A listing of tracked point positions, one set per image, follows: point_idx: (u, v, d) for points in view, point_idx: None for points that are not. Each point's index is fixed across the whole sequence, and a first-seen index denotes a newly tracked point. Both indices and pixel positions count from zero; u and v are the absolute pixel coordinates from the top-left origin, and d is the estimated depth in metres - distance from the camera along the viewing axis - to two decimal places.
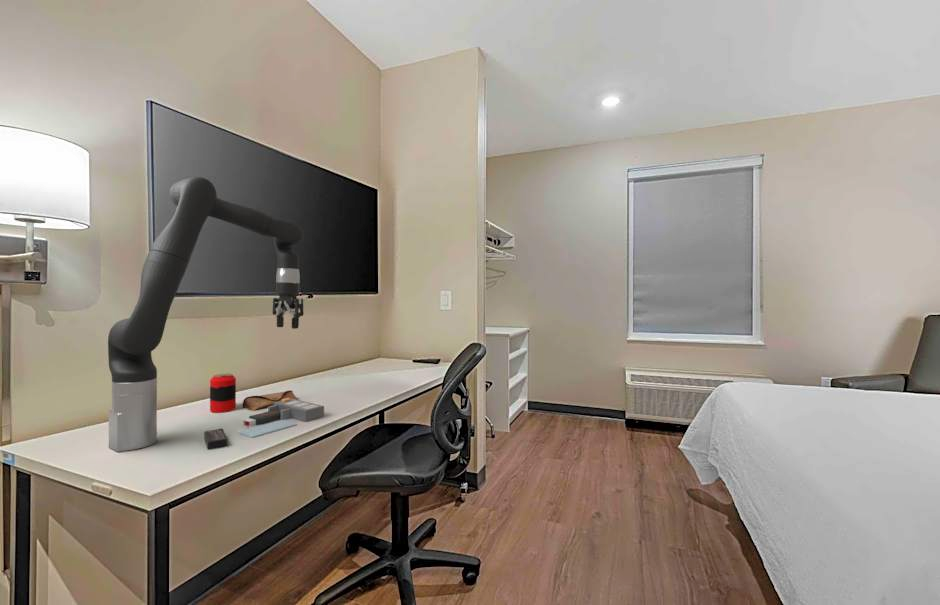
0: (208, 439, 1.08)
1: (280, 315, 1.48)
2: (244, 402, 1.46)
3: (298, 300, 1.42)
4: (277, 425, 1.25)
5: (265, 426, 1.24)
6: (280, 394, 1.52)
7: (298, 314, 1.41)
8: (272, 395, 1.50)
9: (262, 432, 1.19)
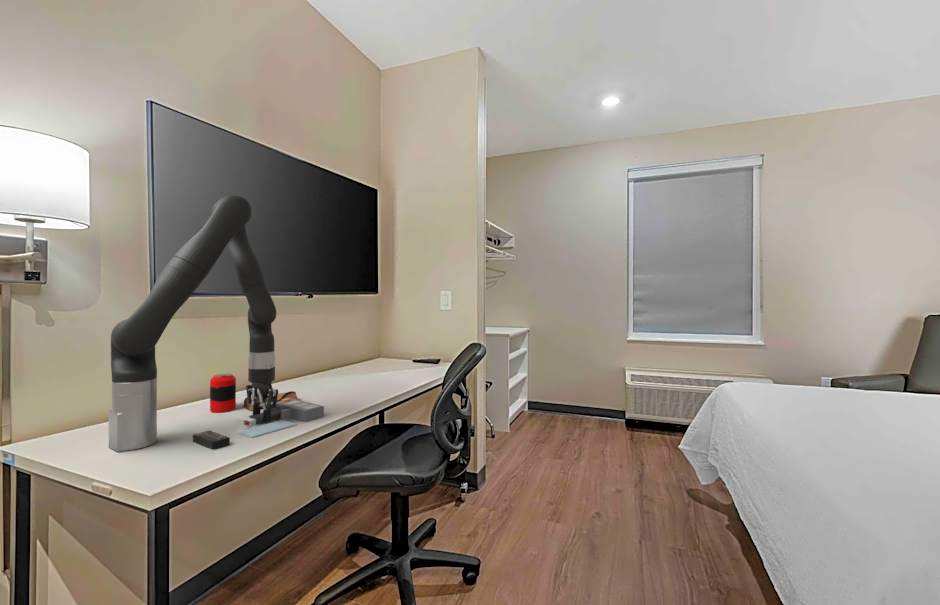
0: (209, 440, 1.08)
1: (256, 404, 1.32)
2: (244, 401, 1.46)
3: (272, 393, 1.26)
4: (277, 425, 1.25)
5: (265, 426, 1.24)
6: (281, 395, 1.51)
7: (270, 407, 1.27)
8: None
9: (262, 432, 1.19)
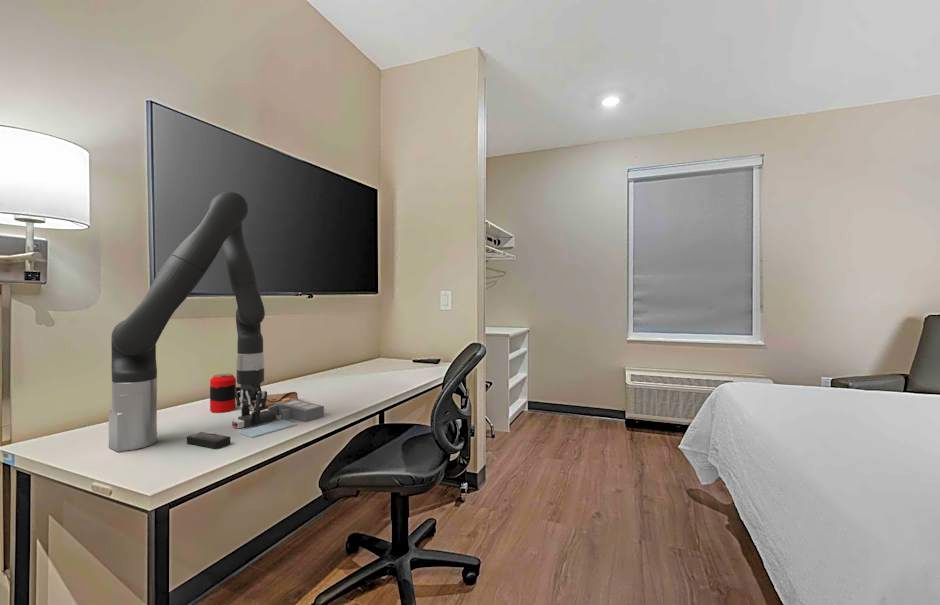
0: (210, 440, 1.08)
1: (245, 407, 1.29)
2: None
3: (261, 395, 1.23)
4: (277, 425, 1.25)
5: (265, 426, 1.24)
6: (281, 395, 1.50)
7: (258, 409, 1.24)
8: (273, 396, 1.49)
9: (262, 432, 1.19)
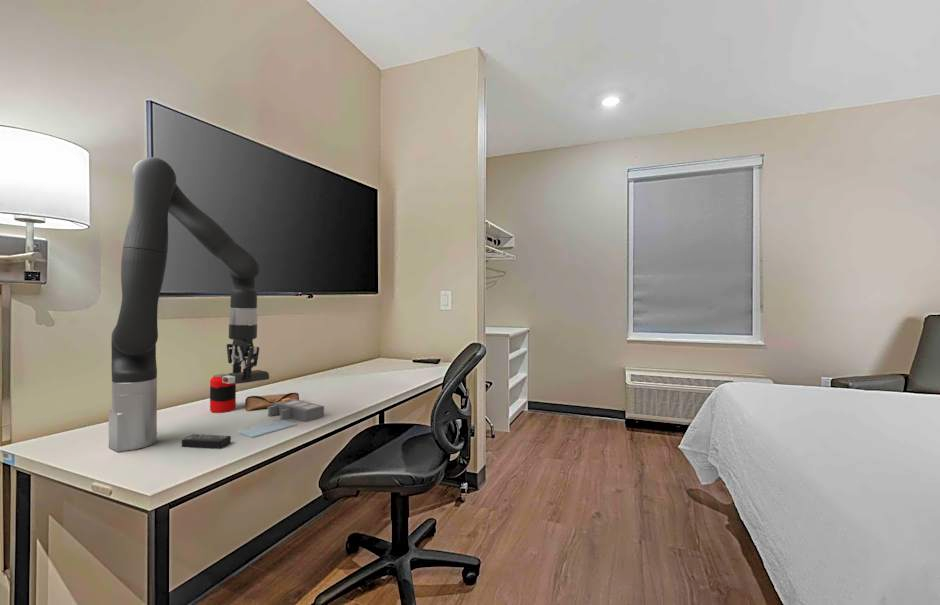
0: (212, 440, 1.08)
1: (237, 364, 1.26)
2: (245, 401, 1.47)
3: (253, 350, 1.21)
4: (277, 425, 1.25)
5: (265, 426, 1.24)
6: (281, 396, 1.49)
7: (250, 365, 1.21)
8: (272, 396, 1.48)
9: (262, 432, 1.19)
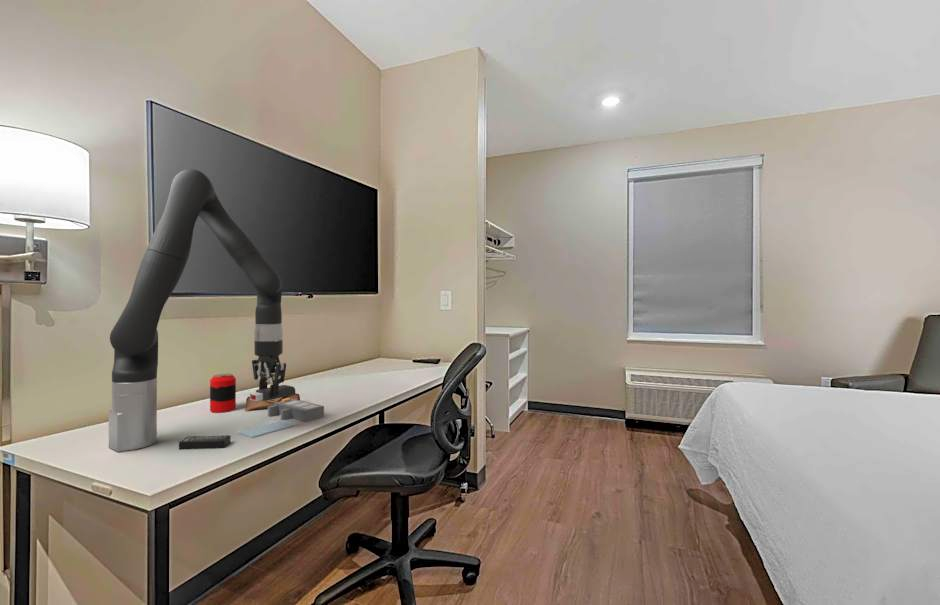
0: (214, 440, 1.08)
1: (263, 380, 1.24)
2: (246, 401, 1.47)
3: (280, 366, 1.19)
4: (277, 425, 1.25)
5: (265, 426, 1.24)
6: None
7: (277, 381, 1.19)
8: None
9: (262, 432, 1.19)
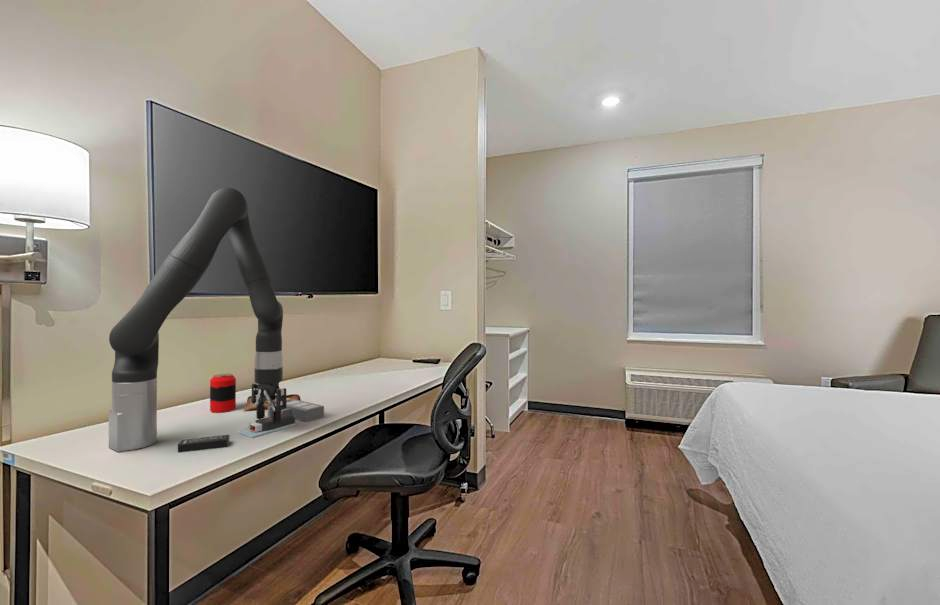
0: (216, 440, 1.08)
1: (260, 404, 1.25)
2: (247, 401, 1.47)
3: (280, 391, 1.19)
4: None
5: None
6: None
7: (280, 408, 1.19)
8: None
9: (262, 432, 1.19)
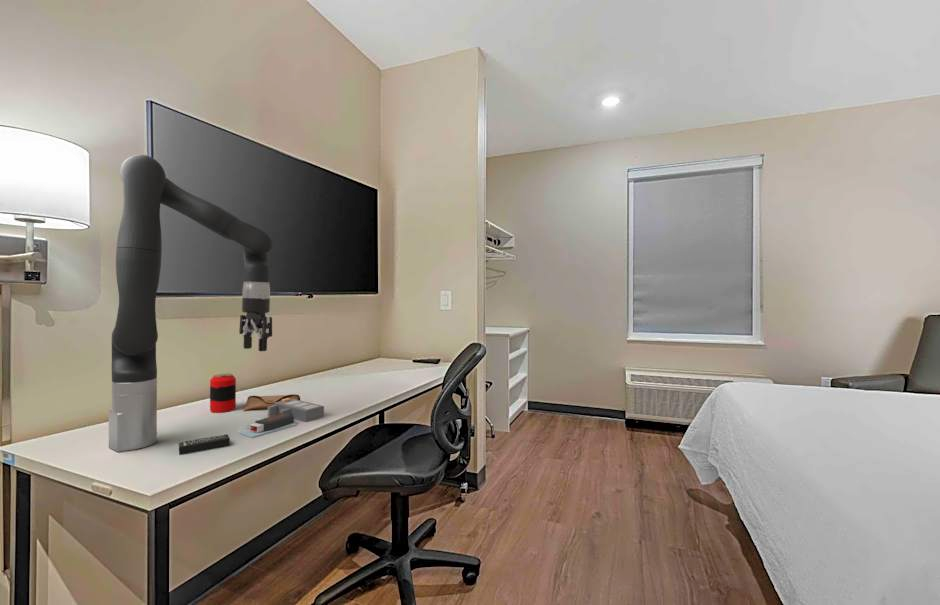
0: (219, 440, 1.08)
1: (248, 335, 1.29)
2: (247, 400, 1.48)
3: (266, 319, 1.23)
4: None
5: None
6: (279, 397, 1.47)
7: (265, 335, 1.23)
8: (271, 397, 1.47)
9: (262, 432, 1.19)
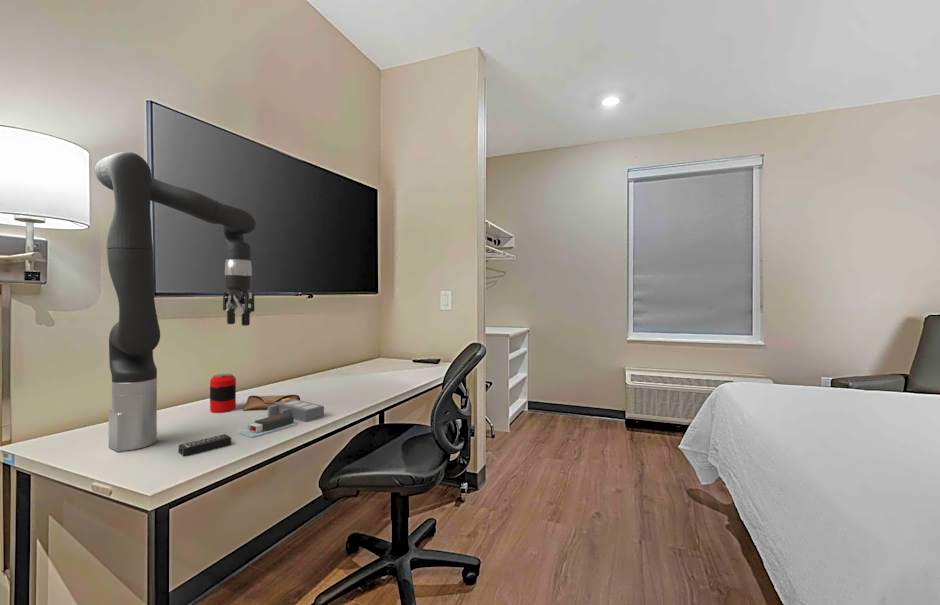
0: (221, 439, 1.09)
1: (231, 311, 1.35)
2: (247, 400, 1.48)
3: (248, 294, 1.29)
4: None
5: None
6: (278, 397, 1.47)
7: (248, 310, 1.29)
8: (271, 397, 1.47)
9: (262, 432, 1.19)
